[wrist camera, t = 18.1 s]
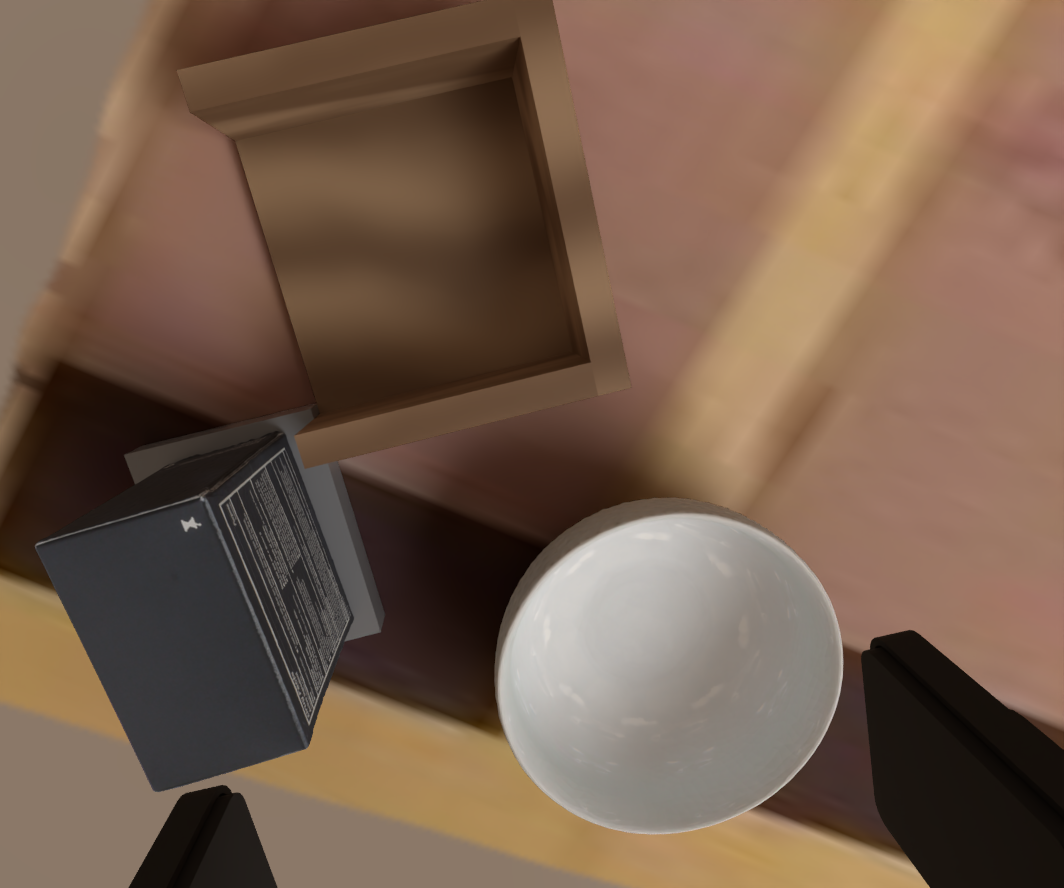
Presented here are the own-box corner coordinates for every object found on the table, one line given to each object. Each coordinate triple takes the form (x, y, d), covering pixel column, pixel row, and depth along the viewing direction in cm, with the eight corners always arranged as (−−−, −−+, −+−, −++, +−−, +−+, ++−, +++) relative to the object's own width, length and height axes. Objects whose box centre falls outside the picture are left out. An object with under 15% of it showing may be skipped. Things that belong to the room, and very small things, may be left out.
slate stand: (142, 445, 35) (123, 454, 33) (319, 402, 36) (310, 408, 34) (221, 656, 38) (208, 676, 36) (385, 614, 38) (380, 632, 36)
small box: (153, 465, 34) (16, 542, 23) (286, 426, 34) (207, 485, 24) (235, 658, 36) (144, 803, 26) (358, 620, 36) (316, 750, 26)
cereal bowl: (439, 548, 38) (433, 605, 31) (723, 421, 38) (780, 451, 31) (562, 793, 42) (581, 892, 35) (820, 679, 42) (889, 756, 35)
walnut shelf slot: (228, 109, 33) (176, 70, 27) (534, 39, 33) (549, -15, 27) (330, 440, 36) (304, 469, 30) (605, 371, 37) (631, 387, 31)
